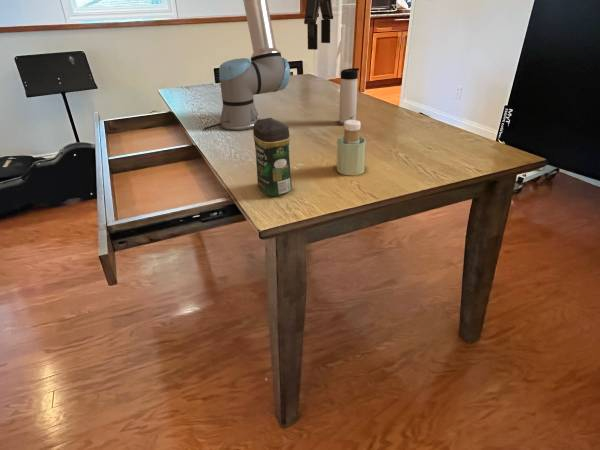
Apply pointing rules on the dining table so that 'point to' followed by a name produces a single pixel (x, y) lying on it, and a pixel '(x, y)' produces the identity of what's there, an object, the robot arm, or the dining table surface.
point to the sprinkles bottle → (351, 131)
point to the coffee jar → (272, 156)
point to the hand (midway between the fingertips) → (319, 46)
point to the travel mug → (348, 94)
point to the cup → (351, 157)
